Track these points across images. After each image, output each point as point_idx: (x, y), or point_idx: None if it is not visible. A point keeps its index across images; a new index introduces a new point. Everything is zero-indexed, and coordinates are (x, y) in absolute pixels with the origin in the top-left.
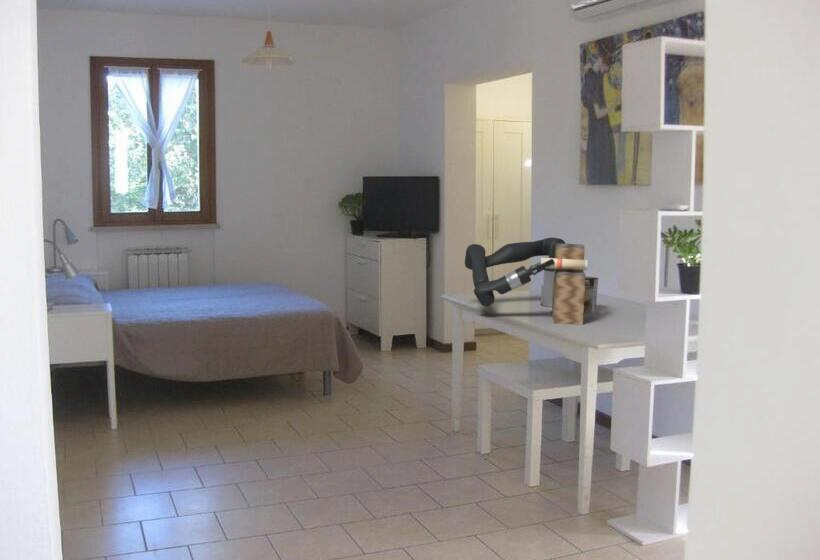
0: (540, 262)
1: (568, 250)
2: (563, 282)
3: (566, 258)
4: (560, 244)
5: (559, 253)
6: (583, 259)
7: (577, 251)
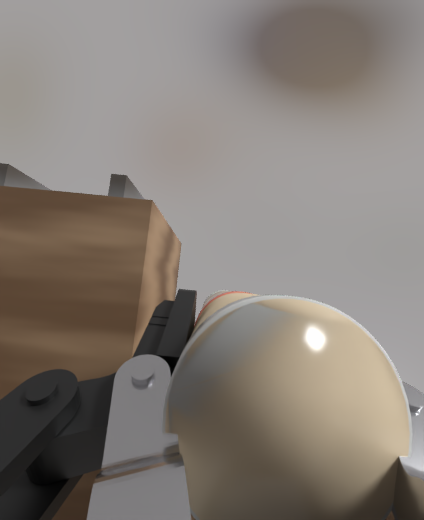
0: (190, 418)
1: (167, 240)
2: None
3: (159, 289)
4: (36, 187)
5: (152, 252)
6: (175, 289)
7: (175, 252)
